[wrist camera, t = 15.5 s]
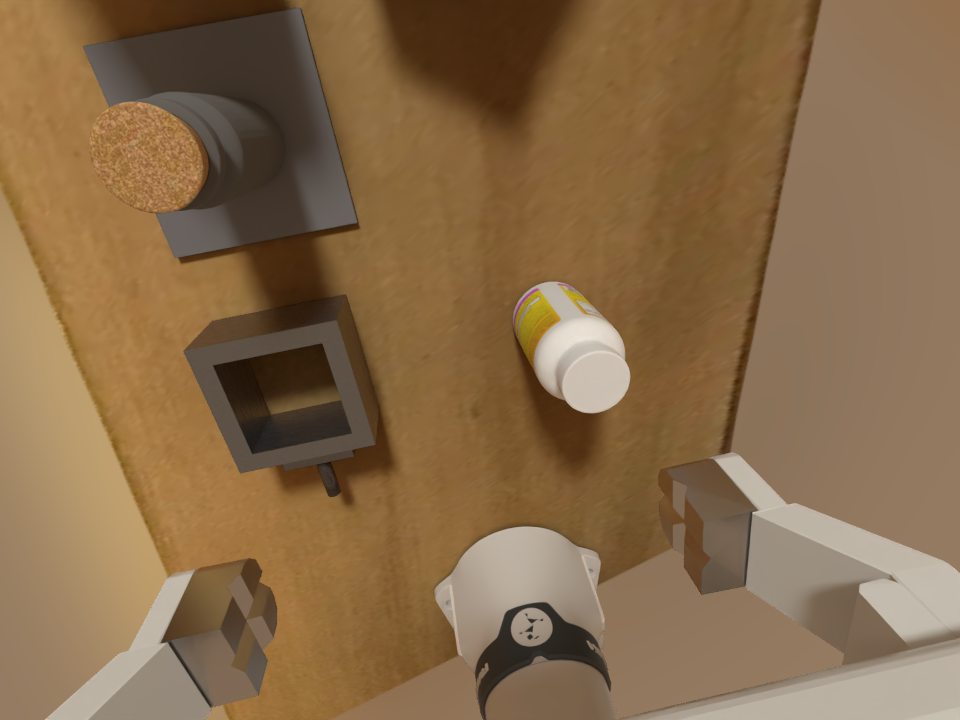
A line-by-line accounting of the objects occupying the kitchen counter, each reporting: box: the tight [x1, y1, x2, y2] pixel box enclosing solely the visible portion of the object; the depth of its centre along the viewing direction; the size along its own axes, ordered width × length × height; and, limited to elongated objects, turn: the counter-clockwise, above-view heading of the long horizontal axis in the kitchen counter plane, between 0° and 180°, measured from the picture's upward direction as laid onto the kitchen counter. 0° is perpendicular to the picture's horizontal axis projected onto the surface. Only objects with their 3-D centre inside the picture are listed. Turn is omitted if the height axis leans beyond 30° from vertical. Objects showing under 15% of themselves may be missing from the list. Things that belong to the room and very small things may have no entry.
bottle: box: [89, 92, 285, 214], centre depth 30 cm, size 6×6×15 cm
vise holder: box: [184, 294, 379, 497], centre depth 44 cm, size 17×11×6 cm, turn 10°
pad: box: [83, 8, 358, 258], centre depth 37 cm, size 14×14×1 cm
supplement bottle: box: [513, 282, 630, 413], centre depth 40 cm, size 7×7×13 cm
